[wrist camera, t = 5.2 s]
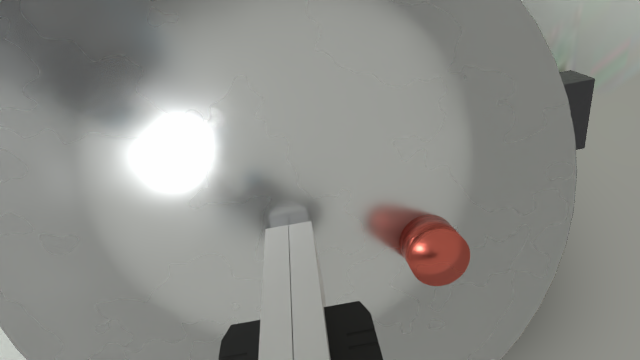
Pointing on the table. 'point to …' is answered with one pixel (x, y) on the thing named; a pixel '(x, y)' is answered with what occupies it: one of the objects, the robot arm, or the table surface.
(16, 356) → the table surface
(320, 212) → the lid
